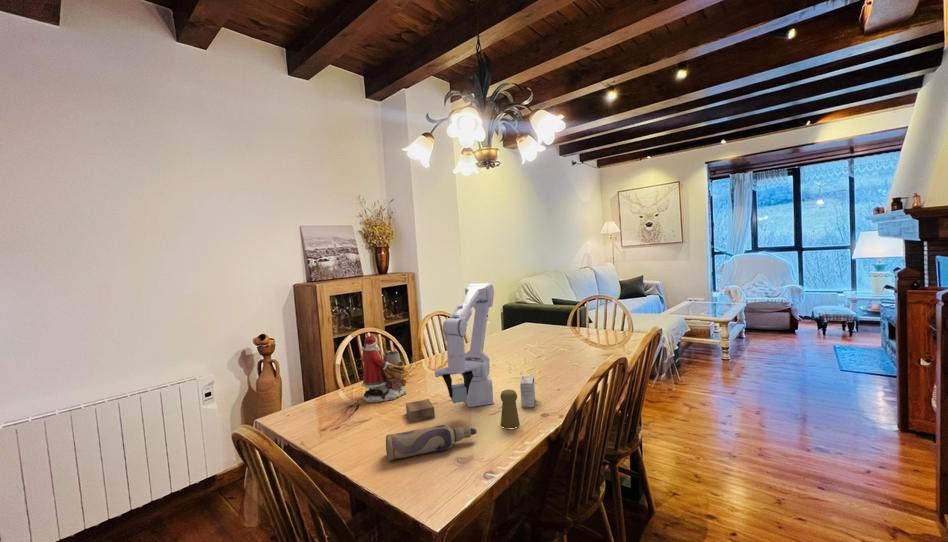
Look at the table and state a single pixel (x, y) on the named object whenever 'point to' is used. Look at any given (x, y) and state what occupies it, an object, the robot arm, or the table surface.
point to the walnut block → (420, 410)
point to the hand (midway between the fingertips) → (458, 395)
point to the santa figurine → (381, 373)
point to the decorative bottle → (424, 440)
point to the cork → (509, 409)
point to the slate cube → (459, 393)
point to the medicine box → (527, 391)
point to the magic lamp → (407, 371)
